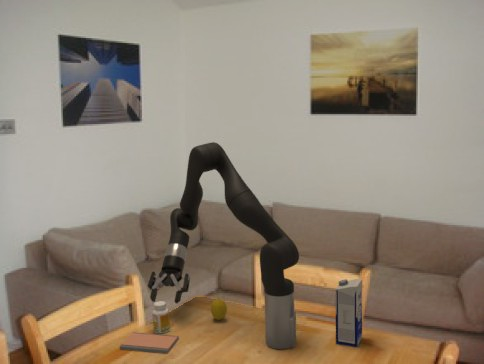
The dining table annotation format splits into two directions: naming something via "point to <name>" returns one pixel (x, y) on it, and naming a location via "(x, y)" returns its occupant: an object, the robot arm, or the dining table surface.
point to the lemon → (218, 309)
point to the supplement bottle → (160, 317)
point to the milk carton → (349, 312)
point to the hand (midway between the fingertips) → (164, 301)
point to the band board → (149, 342)
